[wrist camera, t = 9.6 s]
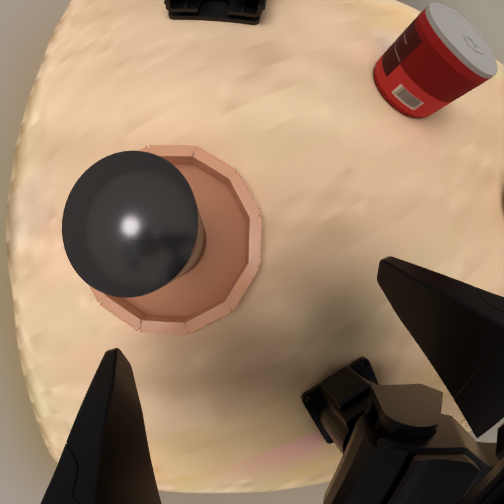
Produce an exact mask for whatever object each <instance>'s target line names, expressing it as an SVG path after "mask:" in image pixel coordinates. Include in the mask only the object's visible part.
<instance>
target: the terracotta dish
mask: <svg viewBox="0 0 504 504" xmlns="http://www.w3.org/2000/svg"><path fill="white" fill-rule="evenodd" d="M139 151H143V152H149V153H152V154H155V155H158V156H160V157H162V158H164V159H166V160H167V161H169V162H170V163H171V164H173V165H174V166H175V167H176V168H177V169H178V170H179V171H180V172H181V173H182V174H183V176H184V177H185V178H186V180H187V182H188V183H189V185H190V187H191V189H192V192H193V194H194V197H195V200H196V203H197V206H198V210H199V213H200V216H201V219H202V222H203V225H204V229H205V232H206V248H205V252H204V254H203V256H202V258H201V260H200V261H199V263H198V264H197V265H196V266H195V267H194V268H193V269H192V270H191V271H189V272H187V273H186V274H184V275H182V276H181V277H179V278H177V279H175V280H174V281H172V282H170V283H168V284H167V285H165V286H163V287H162V288H160V289H158V290H156V291H154V292H152V293H149V294H146V295H143V296H139V297H132V298H121V297H114V296H110V295H107V294H104V293H102V292H100V291H98V290H96V289H94V288H93V287H91V286H90V287H91V290H92V292H93V294H94V296H95V298H96V300H97V302H101V303H100V305H101V306H102V307H104V308H105V309H106V310H108V311H109V312H111V313H112V314H113V315H115V316H116V317H118V318H119V319H121V320H122V321H124V322H125V323H127V324H128V325H130V326H131V327H133V328H134V329H136V330H137V331H138V330H139V329H140V332H149V333H164V334H182V335H187V333H189V334H191V333H193V332H195V331H197V330H198V329H200V328H202V327H204V326H206V325H208V324H210V323H212V322H214V321H216V320H218V319H219V318H221V317H223V316H225V315H227V314H229V313H231V312H232V310H231V309H233V310H234V309H235V308H236V306H237V304H238V303H239V301H240V300H241V298H242V296H243V295H244V293H245V291H246V290H247V288H248V287H249V285H250V283H251V282H252V280H253V279H254V277H255V275H256V274H257V272H258V270H259V269H260V268H259V267H257V266H261V240H262V217H261V216H260V215H261V212H260V210H259V208H258V206H257V204H256V203H255V201H254V199H253V197H252V195H251V193H250V191H249V190H248V188H247V186H246V184H245V182H244V180H243V178H242V177H241V175H240V173H239V172H238V173H237V170H236V169H235V168H233V167H231V166H230V165H228V164H226V163H225V162H223V161H221V160H220V159H218V158H216V157H215V156H213V155H211V154H210V153H208V152H206V151H205V150H203V149H201V148H200V147H198V146H197V148H195V146H189V145H150V146H149V148H148V146H146V147H144V148H143V149H141V150H139Z"/></svg>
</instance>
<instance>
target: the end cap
mask: <svg viewBox="0 0 504 504" xmlns="http://www.w3.org/2000/svg"><path fill="white" fill-rule="evenodd" d="M164 4H166V9H167V10H168V11H169V18H170V19H179V20H208V21H222V22H233V23H242V24H250V25H256V24H258V23H259V19H260V15H261V12H262V10H264V9H265V4H266V0H165V1H164Z"/></svg>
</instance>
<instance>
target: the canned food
mask: <svg viewBox="0 0 504 504" xmlns="http://www.w3.org/2000/svg"><path fill="white" fill-rule="evenodd" d="M496 73H497V64H496V61H495V58H494V56H493V54H492V52H491V50H490V48H489V46H488V44H487V43H486V42H485V40H484V39H483V37H482V36H481V35H480V34H479V32H478V31H477V30H476V29H475V28H474V27H473V26H472V25H471V24H470V23H469V22H468V21H467V20H466V19H465V18H464V17H462V16H461V15H460V14H458V13H457V12H456V11H454V10H452V9H451V8H449V7H447V6H445V5H443V4H439V3H432V4H430V5H429V6H427V7H426V8H425V9H424V10H423V12H421V13H420V14H419V15H418V16H417V18H416V19H415V20H414V21H413V22H412V23H411V24H410V25H409V26H408V27H407V29H406V30H405V31H404V32H403V33H402V34H401V35H400V36H399V37H398V38H397V40H396V41H395V42H394V43H393V44H392V45H391V46H390V47H389V49H388V50H387V51H386V52H385V53H384V54H383V55H382V56H381V58H380V59H379V60H378V61H377V63H376V66H375V70H374V79H375V83H376V85H377V87H378V89H379V91H380V93H381V94H382V95H383V97H384V98H385V99H386V100H387V101H388V102H389V103H390V104H391V105H392V106H393V107H394V108H395V109H397V110H398V111H400V112H401V113H403V114H405V115H407V116H410V117H414V118H420V117H426V116H429V115H431V114H433V113H434V112H436V111H438V110H439V109H441V108H443V107H444V106H446V105H448V104H449V103H451V102H452V101H454V100H456V99H457V98H459V97H461V96H462V95H464V94H466V93H467V92H469V91H471V90H472V89H474V88H476V87H477V86H479V85H481V84H482V83H484V82H485V81H487V80H488V79H490V78H492V77H493V76H494V75H495V74H496Z"/></svg>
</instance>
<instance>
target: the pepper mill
mask: <svg viewBox="0 0 504 504" xmlns="http://www.w3.org/2000/svg"><path fill="white" fill-rule="evenodd" d="M62 236H63V243H64V247H65V251H66V254H67V256H68V259H69V261H70V263H71V265H72V266H73V268H74V269H75V271H76V272H77V274H78V275H79V276H80V277H81V278H82V279H83V280H84V281H85V282H86V283H87V284H88V285H90V286H91V287H93V288H94V289H96V290H98V291H100V292H102V293H104V294H107V295H110V296H114V297H121V298H132V297H139V296H143V295H146V294H149V293H152V292H154V291H156V290H158V289H160V288H162V287H163V286H165V285H167V284H168V283H170V282H172V281H174V280H175V279H177V278H179V277H181V276H182V275H184V274H186V273H187V272H189V271H191V270H192V269H193V268H194V267H195V266H196V265H197V264H198V263H199V261H200V260H201V258H202V256H203V254H204V252H205V248H206V232H205V229H204V225H203V222H202V219H201V216H200V213H199V210H198V206H197V203H196V200H195V197H194V194H193V192H192V189H191V187H190V185H189V183H188V182H187V180H186V178H185V177H184V176H183V174H182V173H181V172H180V171H179V170H178V169H177V168H176V167H175V166H174V165H173V164H171V163H170V162H169V161H167V160H166V159H164V158H162V157H160V156H158V155H155V154H152V153H149V152H143V151H124V152H119V153H115V154H112V155H110V156H107V157H105V158H103V159H101V160H99V161H98V162H96V163H95V164H94V165H92V166H91V167H90V168H89V169H87V170H86V171H85V172H84V173H83V175H82V176H81V177H80V178H79V179H78V181H77V182H76V184H75V185H74V187H73V188H72V190H71V192H70V194H69V196H68V199H67V202H66V205H65V208H64V212H63V219H62Z"/></svg>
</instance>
